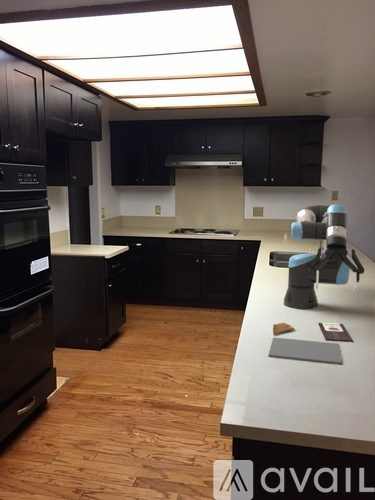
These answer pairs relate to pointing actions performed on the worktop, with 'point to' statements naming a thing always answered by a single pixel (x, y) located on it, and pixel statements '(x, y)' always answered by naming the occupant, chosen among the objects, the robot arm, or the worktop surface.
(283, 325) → the shard
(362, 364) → the worktop surface
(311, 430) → the worktop surface
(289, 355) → the rubber mat
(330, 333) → the chocolate bar
